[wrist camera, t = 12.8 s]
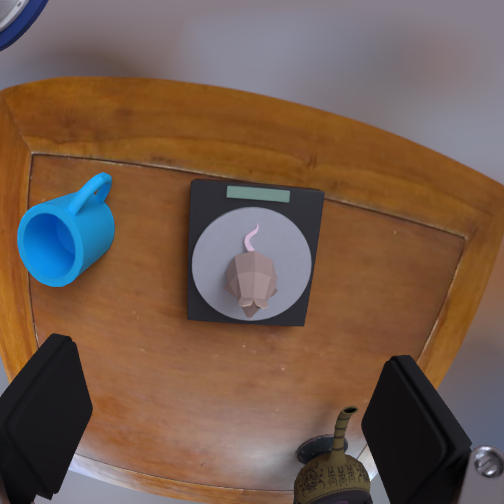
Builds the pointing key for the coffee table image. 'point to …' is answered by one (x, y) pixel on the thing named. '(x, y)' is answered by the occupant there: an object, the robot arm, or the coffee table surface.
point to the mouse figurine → (251, 278)
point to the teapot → (331, 469)
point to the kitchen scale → (264, 242)
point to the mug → (67, 233)
